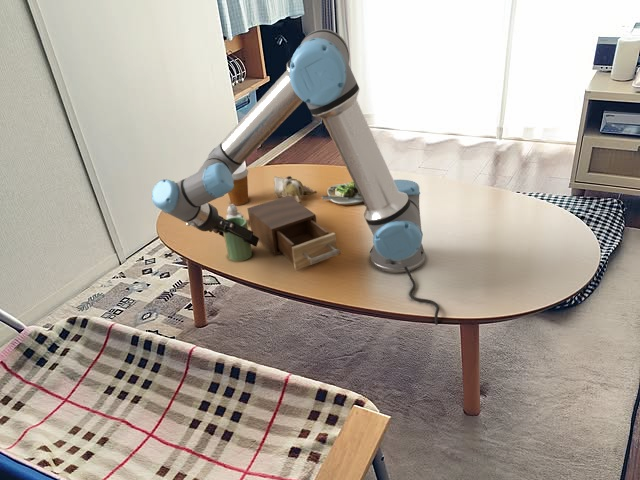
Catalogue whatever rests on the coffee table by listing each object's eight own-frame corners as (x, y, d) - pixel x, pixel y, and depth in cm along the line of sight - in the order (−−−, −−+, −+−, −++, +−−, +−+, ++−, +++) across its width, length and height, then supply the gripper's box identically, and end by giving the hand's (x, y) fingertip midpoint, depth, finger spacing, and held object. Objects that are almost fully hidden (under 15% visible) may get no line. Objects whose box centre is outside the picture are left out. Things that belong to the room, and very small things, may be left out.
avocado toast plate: (325, 212, 188) (324, 199, 186) (317, 191, 203) (316, 179, 200) (381, 203, 190) (381, 191, 187) (369, 183, 204) (369, 171, 202)
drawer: (348, 263, 159) (346, 242, 155) (306, 279, 154) (303, 257, 150) (310, 233, 176) (307, 213, 171) (271, 246, 171) (267, 226, 167)
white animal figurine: (232, 219, 190) (228, 197, 186) (249, 222, 188) (245, 200, 183) (223, 226, 187) (219, 204, 182) (240, 229, 184) (235, 207, 179)
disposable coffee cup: (258, 198, 202) (253, 166, 195) (241, 209, 196) (235, 176, 189) (237, 194, 207) (232, 162, 200) (221, 204, 201) (214, 172, 193)
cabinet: (318, 240, 173) (315, 214, 168) (275, 255, 168) (271, 229, 163) (292, 219, 186) (289, 195, 181) (251, 233, 181) (247, 208, 176)
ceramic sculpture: (283, 166, 201) (317, 176, 194) (285, 188, 206) (318, 198, 199) (264, 177, 194) (298, 187, 187) (266, 200, 200) (300, 211, 193)
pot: (255, 256, 169) (250, 223, 162) (233, 263, 166) (227, 230, 160) (246, 246, 174) (240, 214, 168) (225, 254, 172) (218, 221, 165)
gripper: (166, 220, 155) (214, 244, 175) (225, 234, 145) (269, 258, 165) (174, 195, 155) (221, 222, 175) (234, 206, 145) (277, 233, 166)
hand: (244, 239), depth 170 cm, fingers open, 8 cm apart
